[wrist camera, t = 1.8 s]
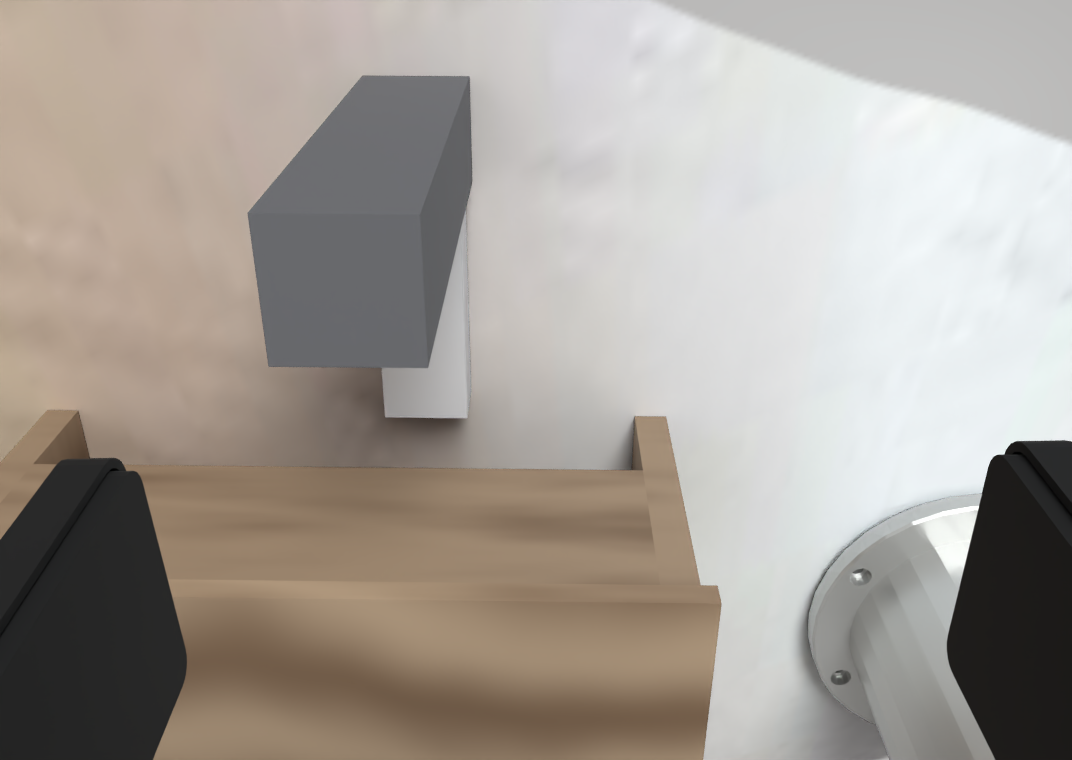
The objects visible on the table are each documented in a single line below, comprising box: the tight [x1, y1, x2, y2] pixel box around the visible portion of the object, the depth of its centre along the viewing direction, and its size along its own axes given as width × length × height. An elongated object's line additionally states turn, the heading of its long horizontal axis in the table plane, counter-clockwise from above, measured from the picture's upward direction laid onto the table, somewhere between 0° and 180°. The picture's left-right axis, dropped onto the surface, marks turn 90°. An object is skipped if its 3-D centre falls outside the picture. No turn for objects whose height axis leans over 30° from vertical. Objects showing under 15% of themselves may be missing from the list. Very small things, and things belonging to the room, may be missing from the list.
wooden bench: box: [0, 410, 721, 760], centre depth 35 cm, size 7×25×11 cm, turn 90°
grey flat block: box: [248, 76, 472, 418], centre depth 29 cm, size 12×4×14 cm, turn 0°
